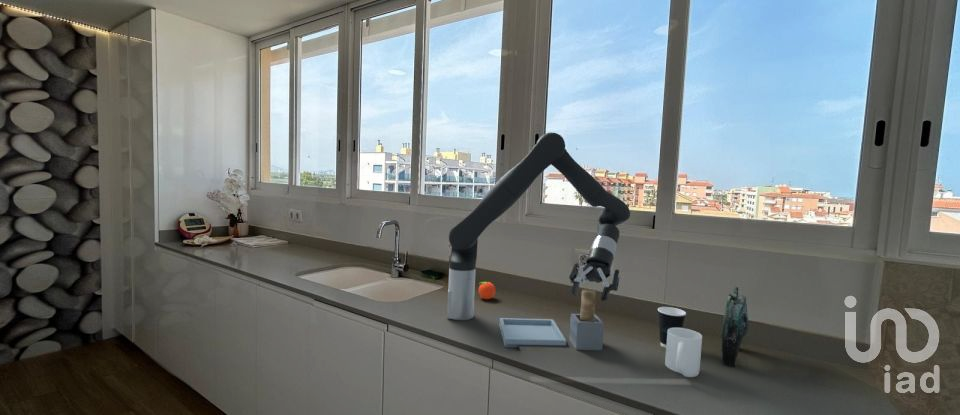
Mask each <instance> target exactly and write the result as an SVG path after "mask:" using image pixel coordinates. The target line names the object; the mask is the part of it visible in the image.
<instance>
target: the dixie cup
mask: <svg viewBox="0 0 960 415" xmlns="http://www.w3.org/2000/svg"><path fill="white" fill-rule="evenodd" d="M657 312H658V326H659V331H658V332H659V343H660V346H661V347H662V348H665V349H666V344H667V331H668V329H669V328H684V327H683V326H684V322H685V317H686V315H687V312H686V311H685V310H682V309H680V308H676V307H670V306H660V307H658V308H657Z"/></svg>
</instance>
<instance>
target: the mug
mask: <svg viewBox="0 0 960 415" xmlns="http://www.w3.org/2000/svg"><path fill="white" fill-rule="evenodd" d="M702 343H703V335H702V334H701V333H700V332H698V331H695V330H693V329H690V328H684V327H683V328H669V329H668V331H667V344H666V348H665V361H664V365H665V367H667V368H668V369H669V370H672V371H673V372H676V373H679V374H681V375H682V376H684V377H685V378H695V377H697V376H698V375H699V373H700V369H701V368H700V366H701V358H702V357H701V355H702V345H703V344H702Z"/></svg>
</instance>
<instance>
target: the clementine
mask: <svg viewBox="0 0 960 415" xmlns="http://www.w3.org/2000/svg"><path fill="white" fill-rule="evenodd" d="M478 285H479V287H478V294H479V296H480V297H481V299H484V300H490V299H492V298H494V296H495V295H496V286H495V285H494V284H493V282H491V281H480V282H478Z"/></svg>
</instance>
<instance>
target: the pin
mask: <svg viewBox="0 0 960 415" xmlns="http://www.w3.org/2000/svg"><path fill="white" fill-rule="evenodd" d="M596 294H597V292H596V291H595V290H593V289H582V290H581V297H580V298H581V299H580V311H579V314H580V321H589V322H594V314H595V312H596V311H595V309H596V298H597V297H596V296H597V295H596Z"/></svg>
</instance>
